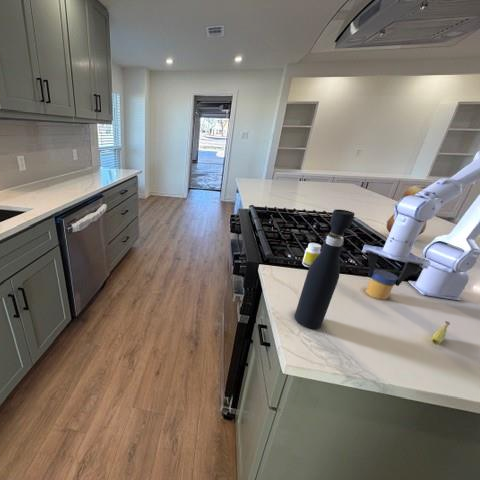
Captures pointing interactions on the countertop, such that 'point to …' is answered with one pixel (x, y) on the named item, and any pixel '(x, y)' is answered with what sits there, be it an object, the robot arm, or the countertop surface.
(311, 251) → the supplement bottle
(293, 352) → the countertop surface
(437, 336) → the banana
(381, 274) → the jar lid
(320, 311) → the black water bottle
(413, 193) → the butternut squash
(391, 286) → the jam jar
